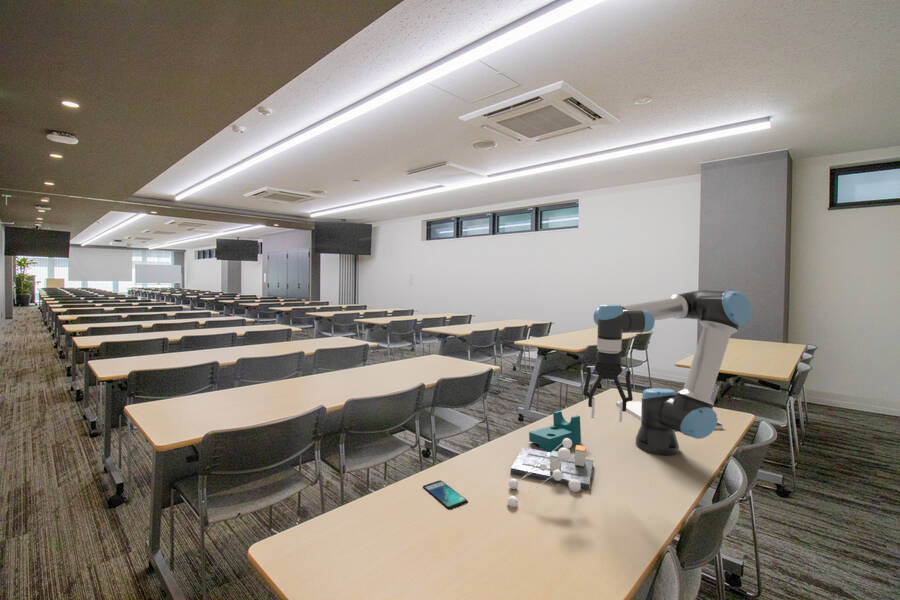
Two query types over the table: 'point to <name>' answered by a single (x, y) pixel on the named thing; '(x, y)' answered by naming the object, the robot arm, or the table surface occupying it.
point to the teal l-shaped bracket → (557, 433)
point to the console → (533, 457)
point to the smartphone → (445, 494)
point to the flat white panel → (636, 410)
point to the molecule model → (557, 474)
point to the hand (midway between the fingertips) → (606, 418)
